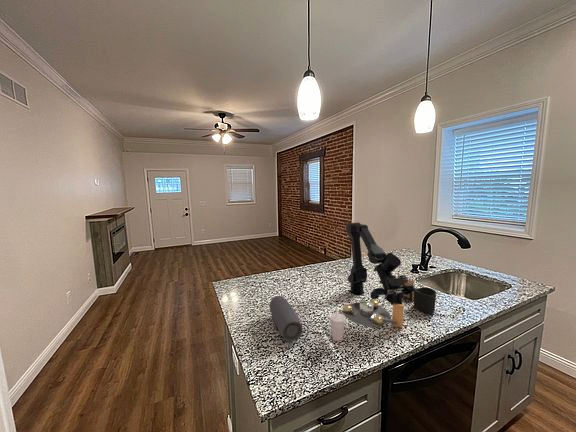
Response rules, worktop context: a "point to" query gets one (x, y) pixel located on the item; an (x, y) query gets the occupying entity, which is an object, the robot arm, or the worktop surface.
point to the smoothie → (337, 325)
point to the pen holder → (424, 300)
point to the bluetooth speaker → (285, 319)
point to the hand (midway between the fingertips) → (401, 311)
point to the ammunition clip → (411, 295)
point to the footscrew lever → (396, 319)
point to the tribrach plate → (366, 319)
